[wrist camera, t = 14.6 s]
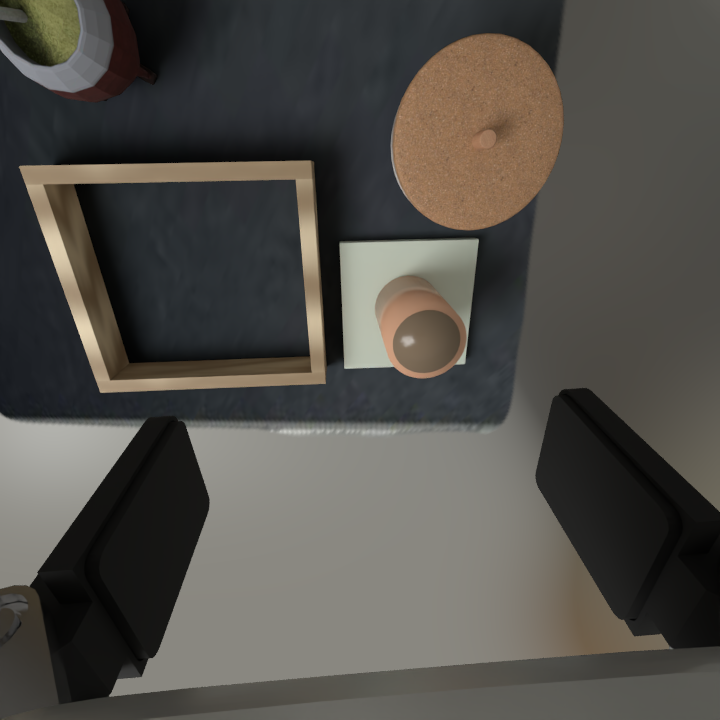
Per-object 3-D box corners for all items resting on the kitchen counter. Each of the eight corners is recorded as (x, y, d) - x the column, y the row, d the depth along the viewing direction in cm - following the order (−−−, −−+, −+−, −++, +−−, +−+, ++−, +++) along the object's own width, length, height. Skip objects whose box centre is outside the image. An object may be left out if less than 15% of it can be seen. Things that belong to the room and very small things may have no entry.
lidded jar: (416, 241, 34) (441, 264, 26) (357, 117, 30) (364, 95, 21) (531, 176, 32) (599, 178, 24) (486, 33, 28) (549, -27, 20)
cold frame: (52, 166, 30) (19, 166, 27) (313, 162, 31) (311, 160, 28) (120, 374, 38) (100, 392, 35) (326, 366, 39) (325, 383, 36)
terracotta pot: (375, 276, 34) (387, 304, 27) (442, 275, 34) (472, 302, 27) (374, 338, 37) (384, 380, 29) (436, 337, 37) (461, 377, 30)
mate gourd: (176, 31, 27) (16, -110, 14) (143, 143, 30) (-17, 118, 16) (63, -43, 25) (-254, -292, 12) (39, 84, 28) (-239, 2, 14)
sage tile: (339, 241, 34) (339, 243, 33) (475, 237, 34) (478, 239, 33) (344, 364, 39) (344, 368, 38) (461, 359, 39) (464, 364, 39)
